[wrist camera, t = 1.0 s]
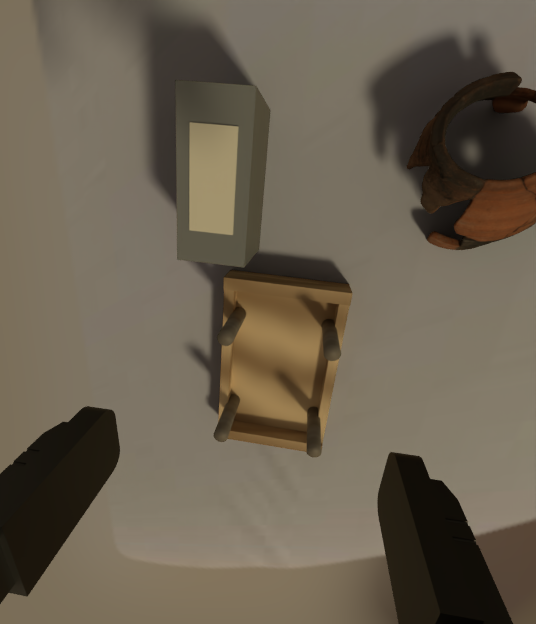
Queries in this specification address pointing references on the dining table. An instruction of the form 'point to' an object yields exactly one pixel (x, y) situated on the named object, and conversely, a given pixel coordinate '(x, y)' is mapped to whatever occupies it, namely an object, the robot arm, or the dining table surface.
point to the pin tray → (279, 358)
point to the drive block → (220, 171)
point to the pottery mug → (462, 185)
